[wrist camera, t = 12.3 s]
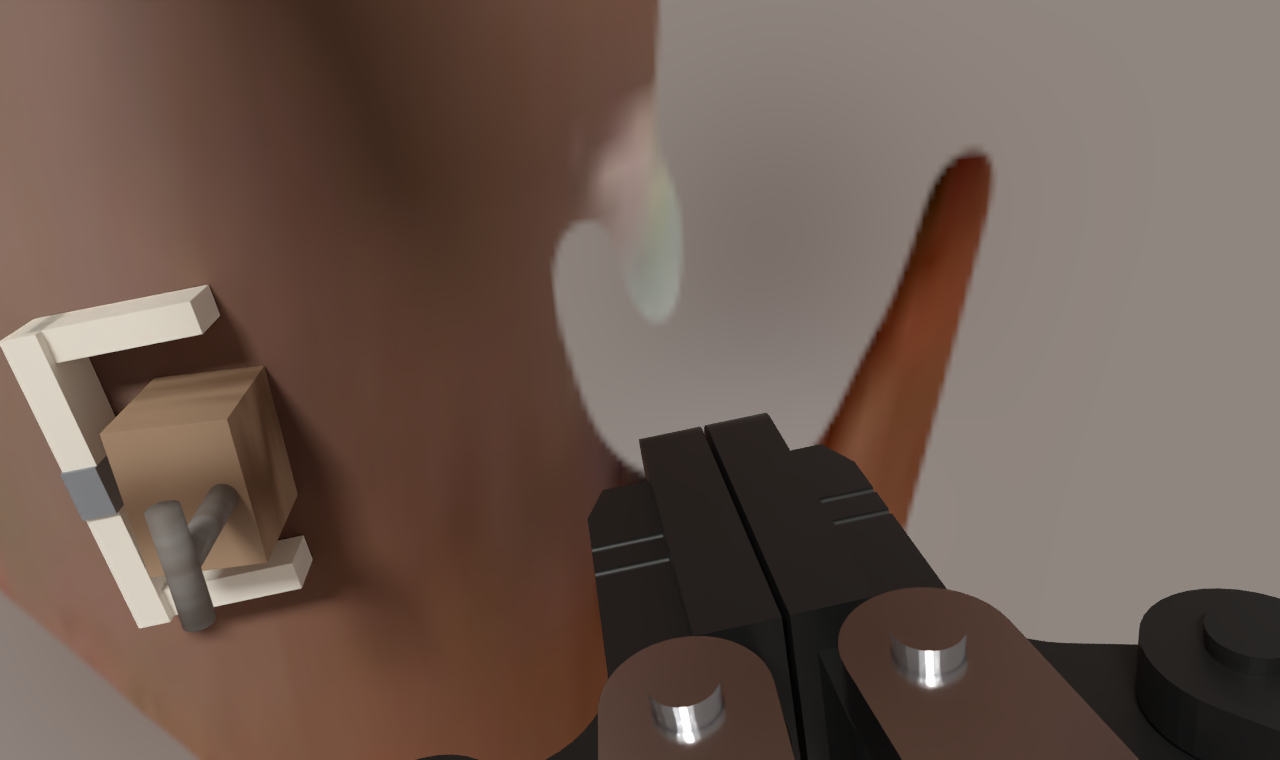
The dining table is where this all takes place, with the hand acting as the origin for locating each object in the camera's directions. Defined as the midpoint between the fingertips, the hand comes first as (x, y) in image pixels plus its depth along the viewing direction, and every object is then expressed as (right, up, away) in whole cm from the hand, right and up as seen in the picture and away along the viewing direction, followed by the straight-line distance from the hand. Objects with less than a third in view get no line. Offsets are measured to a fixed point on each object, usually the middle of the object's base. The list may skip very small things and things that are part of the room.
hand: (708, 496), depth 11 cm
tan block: (-21, -1, +33) cm, 39 cm away
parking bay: (-23, -2, +33) cm, 40 cm away
